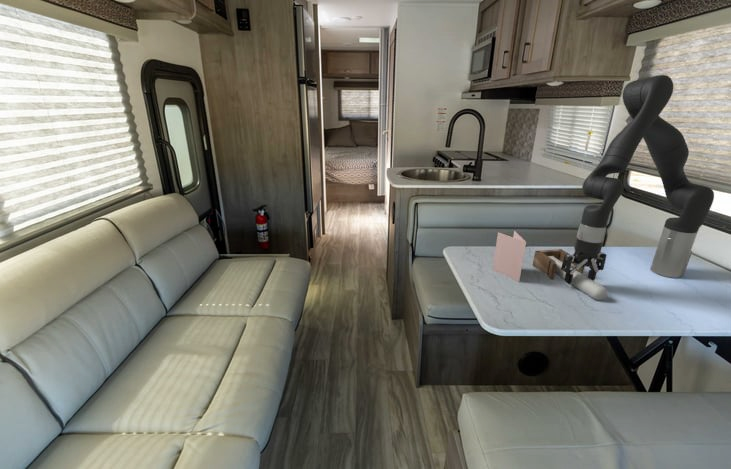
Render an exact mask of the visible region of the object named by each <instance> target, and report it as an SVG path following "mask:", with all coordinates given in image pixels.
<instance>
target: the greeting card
mask: <svg viewBox="0 0 731 469" xmlns="http://www.w3.org/2000/svg"><path fill="white" fill-rule="evenodd" d="M527 246H528V244H527V242H526V240H525V239H524V238H523V237H522V236H521V235H519V233H517V231H515V230H514V231H513V235H512V236H510V235H507V234H505V233H501V232H497V236H496V243H495V250H494V255H493V256H494V258H493V262H492V263H493V264H492V271H494V272H496V273H499V274H501V275H503V276H505V277H507V278H509V279H511V280H514V281H516V282H519V283H520V279H521V273H522V269H523V263H524V256H525V251H526V248H527Z"/></svg>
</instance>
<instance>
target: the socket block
mask: <svg viewBox="0 0 731 469" xmlns="http://www.w3.org/2000/svg"><path fill="white" fill-rule="evenodd" d="M565 254H568V255H572V254H570V253H569V252H567V251H566V250H564V249H561V248H557V249H556V248H555V249H545V250H544V249H543V250H535V251H534V256H533V260H532V266H533V267H534V268H535V269H537V270H539V271H540V272H542V273H543V274H545V275H546V276H547V277H548V280H551V281H552V280H554V279H555V278H554V277H555V274H556V273H555V270H556V266H557V264H556V262H555V260H553V259H551V258H550V257H548V256H554V257H555V258H556V259H558V260H560V261H561V262H563V260H564V256H565ZM574 265H575V266H577V265H576V263H574ZM572 268H573V267H572ZM576 271H578V272H579V273H581V274H583V275H584V271H585V267H581V268H580V269H579V270H576Z"/></svg>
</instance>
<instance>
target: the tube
mask: <svg viewBox="0 0 731 469" xmlns="http://www.w3.org/2000/svg"><path fill="white" fill-rule="evenodd" d="M548 257H550V258H551V259H553V260H555V262H556V264H557V266H556V270H555V274H556V275H557V276H558V277H560V278H562V279H563V280H564V279H565V275H566V272H564V271H563V270H561V267H562V263H563V262H561V261H560V260H558V259H556V258H555V257H554V256H548ZM565 268H566V267H565ZM572 269H573V268H571V269H570V270H572ZM570 285H572V286H573V287H575V288H577V289H579V290H580V291H581V292H583V293H584V294H586V295H588V296H589V297H591V298H592V299H593V300H596V301H602V300H604V299H605V298H607V296H608V291H607V289H606V288H605V287H604V286H602V285H601V284H599V283H597V282H596V281H595V280H594V281H593V280H591V279H589V278H588V276H586V275H584V273H583V274H581V273H579V272H578V271H575V272H574V273H573V278H572V283H571V284H570Z"/></svg>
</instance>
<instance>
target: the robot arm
mask: <svg viewBox="0 0 731 469" xmlns="http://www.w3.org/2000/svg"><path fill="white" fill-rule="evenodd" d="M673 93H674V83H673V80H672V78H671V77H670V76H668V75H665V74H659V75H658V74H657V75H653V76H649V77H645V78H639V79H635V80H633V81H630V82H628V83H627V84H626V85H625V86H624V89H623V91H622V102H623V105H624V107H625V109H626V110H627V112H628V114H629V116H630V118H631V119H632V120H631V121H630V122H629V123H628V124H627V125H626V126H625V127H624V128H623V129H622V130H620V132H618V133H617V134H616V135H615V136H614V138H613V139H612V140H611V142H610V143H609V145H608V146H607V149H606V150H605V153H604V155H603V157H602V160H601V161H600V162H599V163H598V164H597V165H596V167H595V168H594V169H593V170H592V171H591V173H589V175H588V176H587V177H586V178H585V180H584V181H583V183H582V185H581V186H582V188H581V190H582V194H583V195H584V196H585V197H588V198H592V199H596V200H600V201H602V203H601V204H591V205H586V206H585V207H584V209H583V211H582V215H581V216H582V217H581V220H580V224H579V227H578V228H577V229H578V230H577V233H576V238H575V242H574V246H573V248H574V253H573V254H571V255H568V254H565V256H564V260H563V263H562V267H561V270H563V271H564V272H566V275H565V279H563V280H564V282H565V283H566V284H568V285H572V284H571V283H572V278H573V273H574V272H575V271H576V270H579V269H580V268H581V267H584V268H585V267H589V270H588V272H587V273H588V274H587V277H588V278H589V279H591V280H593V281H594V282H595V279H596V276H597V273H598V272H599V271H604V269H605V264H606V259H607V254H606V253H604V252H602V247H603V243H604V241H605V236H606V233H607V232H606V231H607V230H606V229H607V224H608V221H609V216H610V214H611V212H612V211H613V208H614V207H615V205H616V203H617V202H618V200H619V198H620V197H621V196H622V195H623V192H624V183H623V181H622V180H621V179H620V178H616V177H610V176H609V175H611V174H619V173H620V174H621V173H623V172H625V171H626V170H627V168H628V167H629V164H630V162H631V160H632V157H633V156H634V154H635V152H636V150H637V148H638V146H639V145H640V143H641V141H642V140H644V142H645V145H646V148H647V151H648V152H649V154H650V157H651V159H652V160H653V161H652V162H653V163H654V165H655V167H656V170H657V171H658V175H659V177H660V179H661V182H662V186H663V189H664V194H665V197H666V199H667V202H668V204H670V206H673V207H674V208H676V209H679V210H682V212H681V214H680V216H678V217H676V216H675V217H669V218H666V220H665V222H664V225H663V228H662V230H661V233H660V234H661V235H660V237H659V240H658V244H657V246H656V249H655V253H654V255H653V258H652V262H651V265H650V268H649V269H650V271H651V272H653V273H655V274H656V275H659V276H663V277H665V278H666V277H667V278H673V279H677V278H682V277H683V276H684V275H685V272H686V270H687V267H688V264H689V262H690V259H691V256H692V254H693V251H692V249H693V246H694V243H695V240H696V238H697V236H698V233H699V230H700V228H701V227H702V226H703V224H704V223H705V221H706V218H707V216H708V214H709V212H710V209H711V208H712V206H713V203H714V199H715V193H714V190H713V189H712V188H711V187H708V186H705V185H701V184H697V183H693V182H691V181H690V180H689V179H688V177H687V175H686V172H685V170H684V169H685V168H684V167H685V166H686V163H687V161H688V159H689V154H690V151H689V147H688V144H687V142H686V139H685V137H684V135H683V134H682V132H681V131H680V130H679V129H678V128H677V127H676V126H674V125H673V124H672V123H669V122H668V121H666V120H665V119H664V118H662V117H661V116H660V115H661V113H662V111H663V110H664V109H665V108H666V106H667V104H668V103H669V102H670V99H671V97H672V95H673ZM574 263H576V265H577V266H575V265H574ZM565 267H566V268H565ZM572 267H573V269H572V270H570V269H571V268H572Z"/></svg>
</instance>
